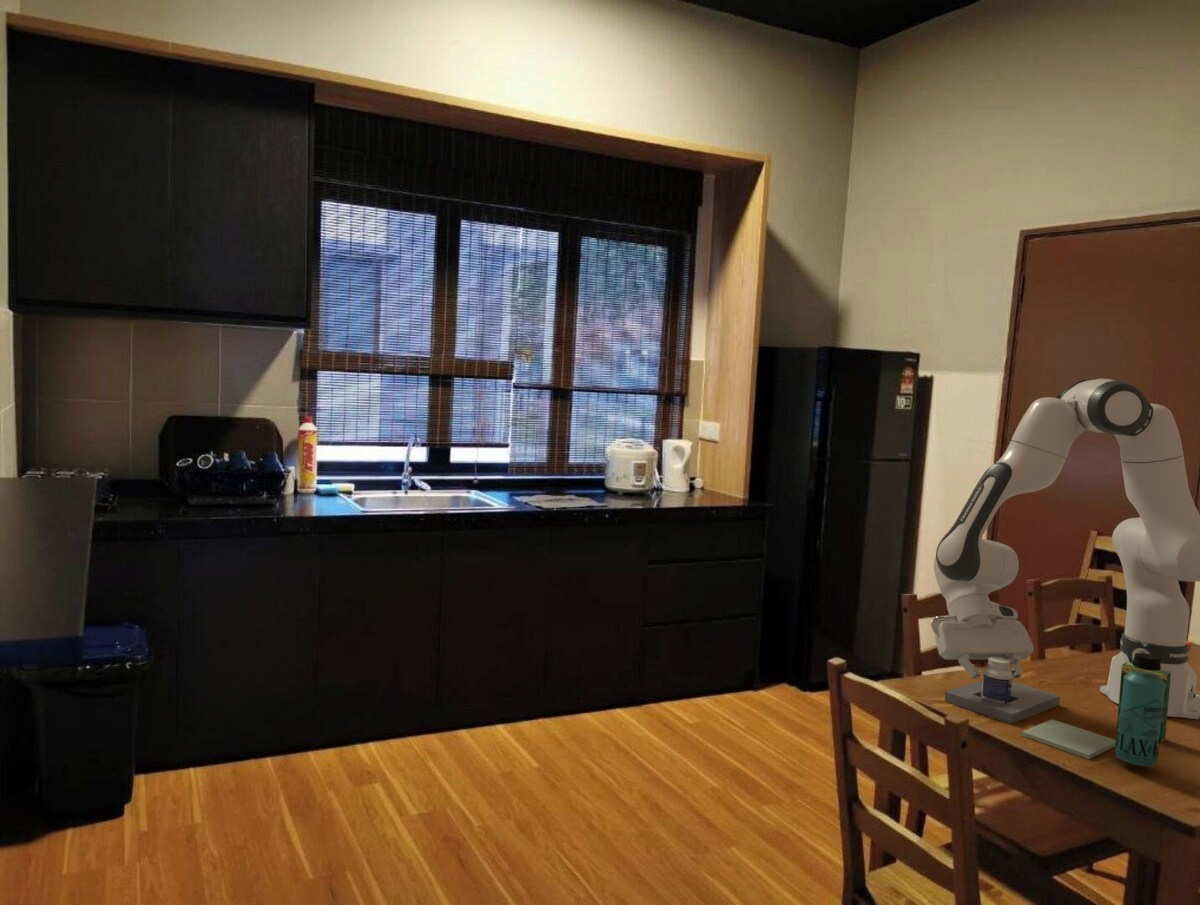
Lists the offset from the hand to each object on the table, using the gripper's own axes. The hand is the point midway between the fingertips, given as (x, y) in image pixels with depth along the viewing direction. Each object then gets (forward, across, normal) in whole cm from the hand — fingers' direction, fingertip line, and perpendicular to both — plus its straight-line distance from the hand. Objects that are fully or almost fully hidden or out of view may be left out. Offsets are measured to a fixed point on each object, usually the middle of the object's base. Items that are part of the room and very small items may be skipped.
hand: (996, 677), depth 182 cm
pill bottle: (+4, 0, +4) cm, 6 cm away
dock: (+3, +3, +5) cm, 7 cm away
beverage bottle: (+25, +8, -16) cm, 31 cm away
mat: (+17, +4, -8) cm, 19 cm away
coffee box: (+15, +21, -6) cm, 26 cm away
